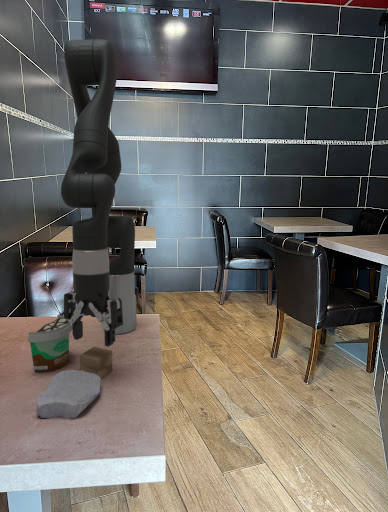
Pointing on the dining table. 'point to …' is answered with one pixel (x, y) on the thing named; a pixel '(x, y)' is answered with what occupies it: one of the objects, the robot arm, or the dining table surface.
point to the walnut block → (96, 361)
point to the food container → (51, 345)
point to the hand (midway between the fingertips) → (93, 341)
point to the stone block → (68, 394)
